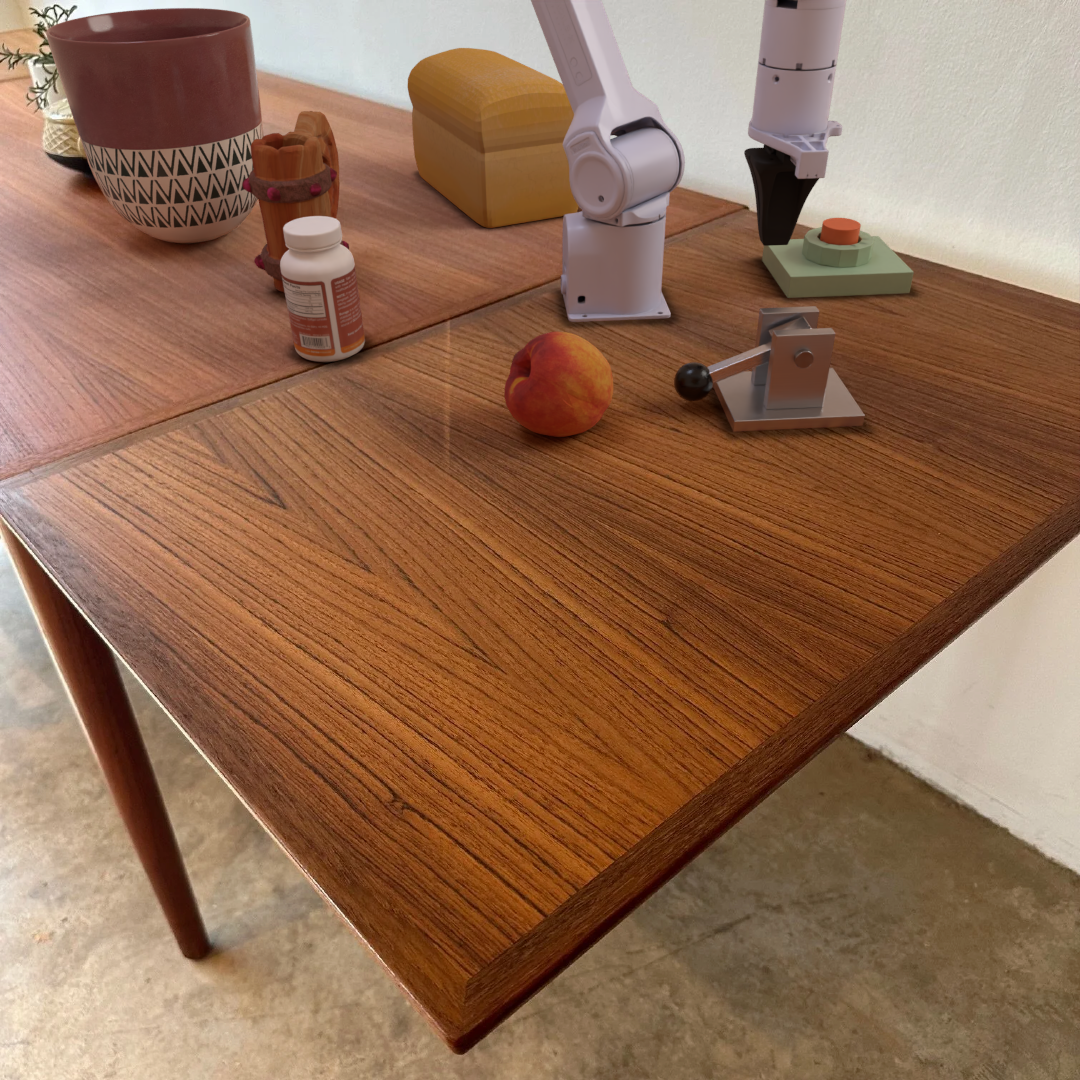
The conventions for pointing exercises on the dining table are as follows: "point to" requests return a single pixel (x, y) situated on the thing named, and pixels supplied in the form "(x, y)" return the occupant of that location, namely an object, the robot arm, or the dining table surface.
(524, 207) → the bread
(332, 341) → the pill bottle
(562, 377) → the fruit
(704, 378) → the tap lever
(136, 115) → the planter
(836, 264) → the button block
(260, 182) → the mug
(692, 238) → the dining table surface
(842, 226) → the button
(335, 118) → the dining table surface
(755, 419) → the bracket
